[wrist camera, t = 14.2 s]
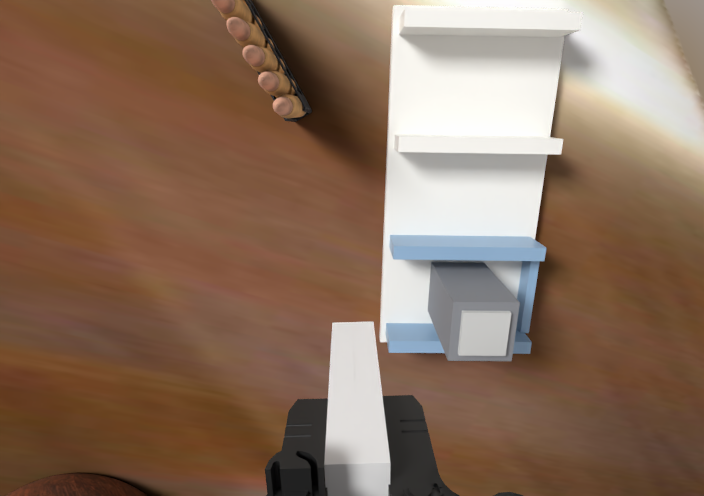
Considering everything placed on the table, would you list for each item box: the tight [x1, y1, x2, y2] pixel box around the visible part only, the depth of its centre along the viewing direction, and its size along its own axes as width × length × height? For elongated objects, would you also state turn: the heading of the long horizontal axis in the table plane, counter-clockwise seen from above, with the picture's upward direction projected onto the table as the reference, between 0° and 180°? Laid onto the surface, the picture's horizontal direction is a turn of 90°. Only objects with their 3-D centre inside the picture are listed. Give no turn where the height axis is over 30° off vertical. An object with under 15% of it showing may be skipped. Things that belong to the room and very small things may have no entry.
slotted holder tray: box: [380, 5, 583, 354], centre depth 38 cm, size 30×14×4 cm, turn 179°
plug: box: [428, 262, 520, 361], centre depth 38 cm, size 5×5×9 cm
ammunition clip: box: [211, 0, 312, 122], centre depth 31 cm, size 11×2×12 cm, turn 29°
